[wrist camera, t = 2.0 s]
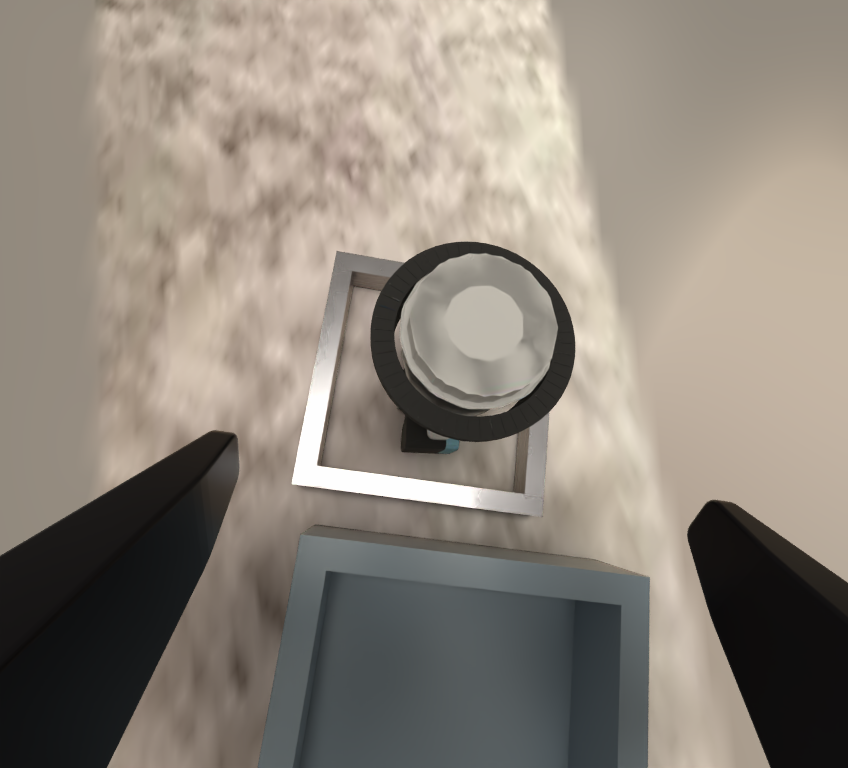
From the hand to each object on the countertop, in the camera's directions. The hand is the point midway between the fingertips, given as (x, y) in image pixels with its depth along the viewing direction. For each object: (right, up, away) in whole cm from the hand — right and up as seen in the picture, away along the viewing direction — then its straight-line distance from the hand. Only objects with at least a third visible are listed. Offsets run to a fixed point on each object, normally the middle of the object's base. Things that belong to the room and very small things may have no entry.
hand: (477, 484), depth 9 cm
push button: (-1, +2, +12) cm, 12 cm away
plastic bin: (0, -11, +9) cm, 14 cm away
